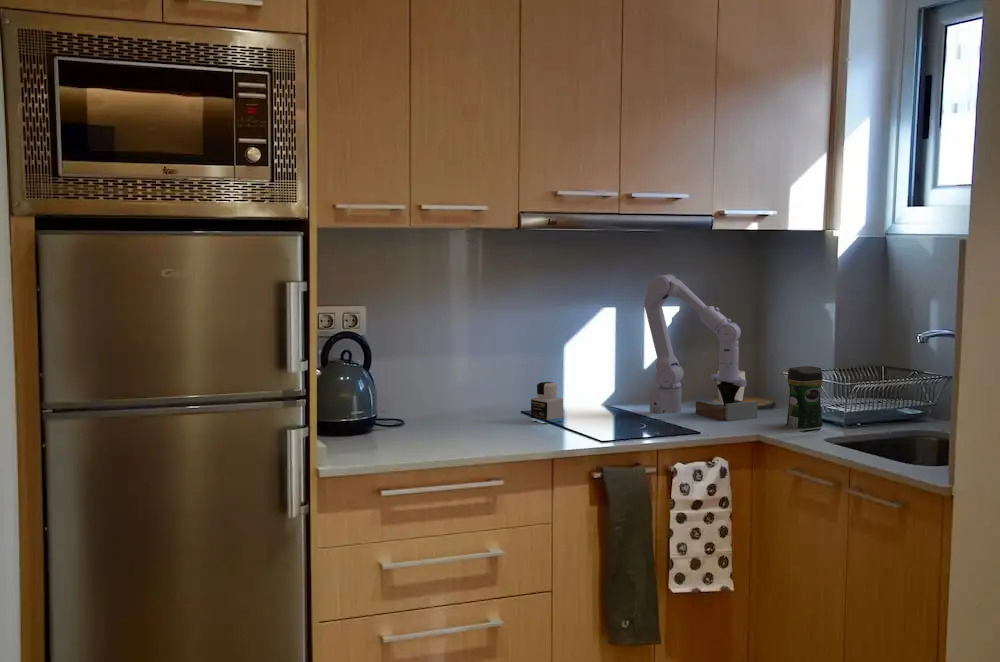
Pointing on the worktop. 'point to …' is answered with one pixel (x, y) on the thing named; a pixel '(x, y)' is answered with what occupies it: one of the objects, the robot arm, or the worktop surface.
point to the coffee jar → (805, 398)
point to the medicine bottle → (546, 402)
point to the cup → (739, 393)
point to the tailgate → (741, 410)
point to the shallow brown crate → (712, 410)
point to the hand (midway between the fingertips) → (728, 407)
